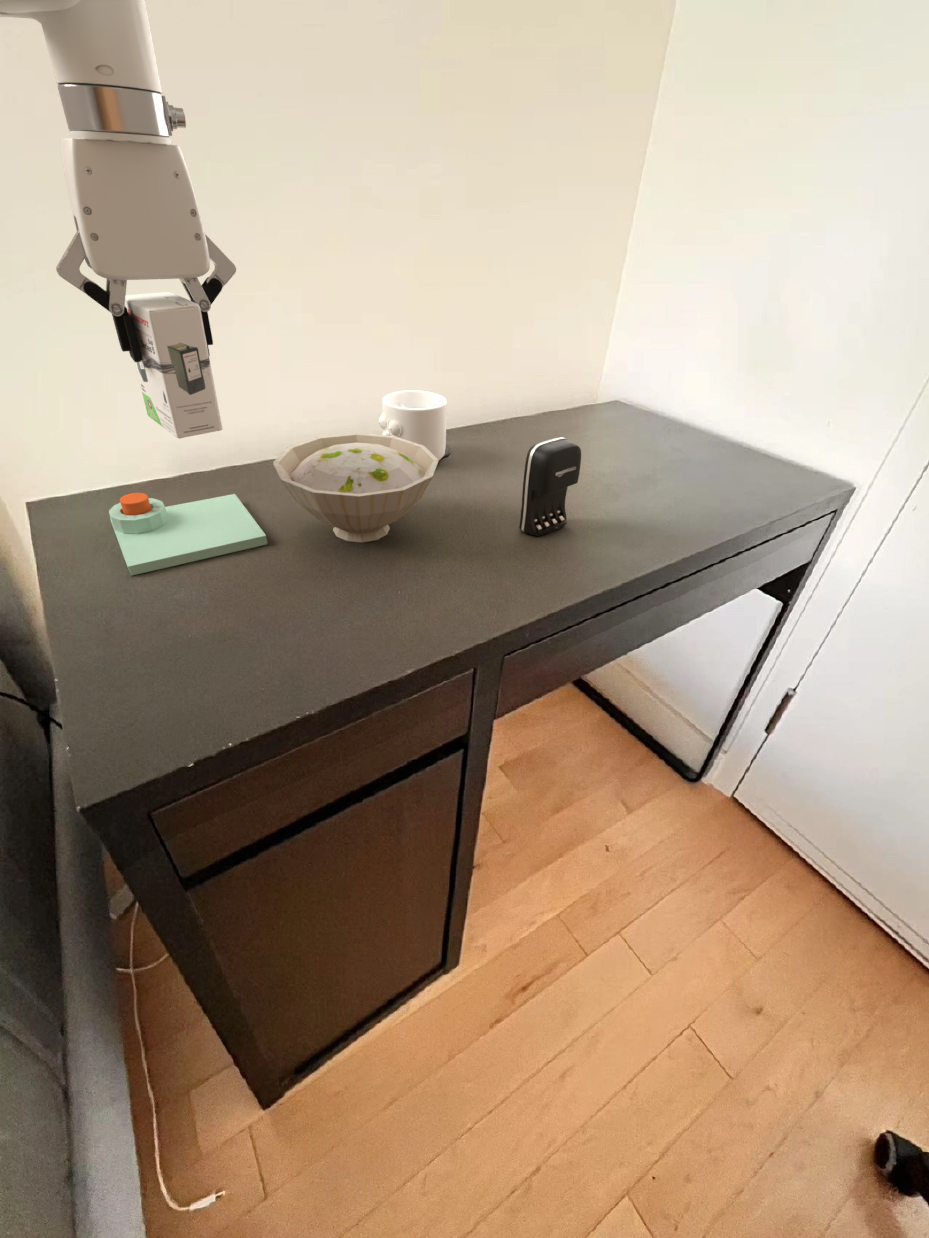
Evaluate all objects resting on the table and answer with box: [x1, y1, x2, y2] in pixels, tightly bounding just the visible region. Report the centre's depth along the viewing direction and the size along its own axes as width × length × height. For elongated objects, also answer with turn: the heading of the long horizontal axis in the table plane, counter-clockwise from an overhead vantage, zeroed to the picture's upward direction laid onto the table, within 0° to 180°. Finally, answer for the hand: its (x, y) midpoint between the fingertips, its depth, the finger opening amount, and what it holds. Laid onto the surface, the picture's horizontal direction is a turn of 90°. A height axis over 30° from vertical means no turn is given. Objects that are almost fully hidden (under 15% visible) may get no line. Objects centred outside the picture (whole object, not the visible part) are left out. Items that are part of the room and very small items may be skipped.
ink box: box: [125, 291, 223, 439], centre depth 61 cm, size 9×5×12 cm, turn 42°
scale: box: [108, 493, 268, 577], centre depth 73 cm, size 15×13×3 cm
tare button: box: [119, 492, 151, 516], centre depth 72 cm, size 3×3×2 cm
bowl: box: [272, 432, 440, 543], centre depth 75 cm, size 19×19×10 cm
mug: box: [378, 389, 448, 461], centre depth 95 cm, size 12×10×9 cm
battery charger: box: [518, 436, 582, 537], centre depth 76 cm, size 7×4×11 cm, turn 130°
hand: (169, 354), depth 60 cm, fingers closed on ink box, 5 cm apart
